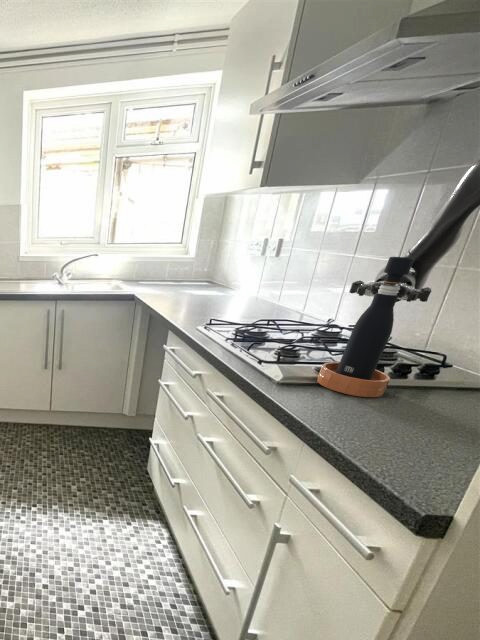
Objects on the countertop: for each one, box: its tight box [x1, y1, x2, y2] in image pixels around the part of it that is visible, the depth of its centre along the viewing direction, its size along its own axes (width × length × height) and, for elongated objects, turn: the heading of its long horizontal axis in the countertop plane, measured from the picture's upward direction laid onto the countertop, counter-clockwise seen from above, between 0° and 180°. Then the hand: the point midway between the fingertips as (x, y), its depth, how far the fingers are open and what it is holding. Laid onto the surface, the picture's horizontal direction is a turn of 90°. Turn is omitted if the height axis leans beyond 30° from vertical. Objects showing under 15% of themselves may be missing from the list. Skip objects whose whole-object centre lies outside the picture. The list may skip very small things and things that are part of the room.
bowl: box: [316, 361, 391, 398], centre depth 100 cm, size 12×12×4 cm
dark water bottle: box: [336, 256, 414, 380], centre depth 94 cm, size 6×6×30 cm
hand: (385, 294), depth 99 cm, fingers open, 8 cm apart
